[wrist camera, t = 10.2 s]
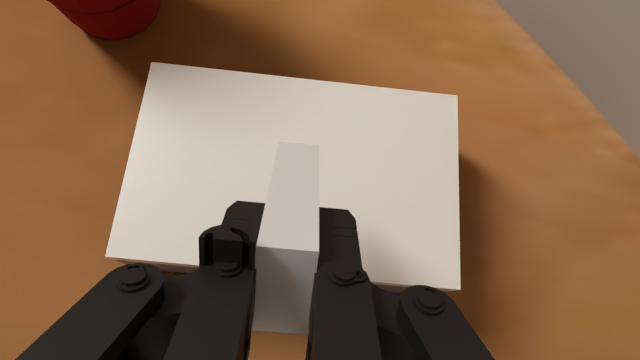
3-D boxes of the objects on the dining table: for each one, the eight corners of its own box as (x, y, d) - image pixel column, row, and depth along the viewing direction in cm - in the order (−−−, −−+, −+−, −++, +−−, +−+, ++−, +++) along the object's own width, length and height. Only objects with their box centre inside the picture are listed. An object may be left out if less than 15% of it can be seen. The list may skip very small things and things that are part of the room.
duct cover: (113, 259, 20) (104, 256, 19) (157, 72, 23) (151, 61, 22) (452, 291, 21) (460, 289, 20) (450, 104, 24) (457, 95, 23)
